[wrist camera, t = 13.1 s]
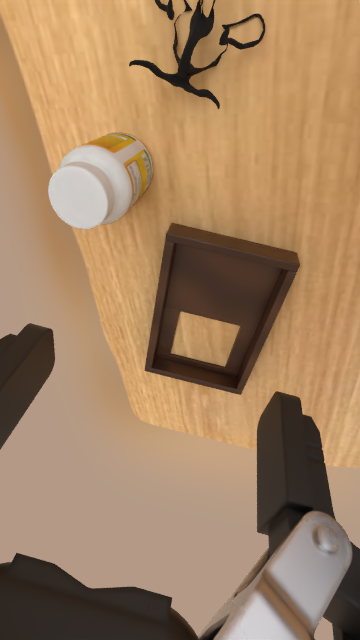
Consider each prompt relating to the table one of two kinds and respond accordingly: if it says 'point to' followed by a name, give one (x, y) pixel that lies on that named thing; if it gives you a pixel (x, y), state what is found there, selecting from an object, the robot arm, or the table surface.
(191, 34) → the creature
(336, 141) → the table surface
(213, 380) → the tray
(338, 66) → the table surface
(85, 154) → the supplement bottle
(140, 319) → the table surface
